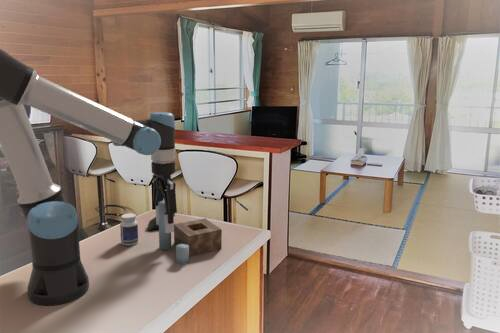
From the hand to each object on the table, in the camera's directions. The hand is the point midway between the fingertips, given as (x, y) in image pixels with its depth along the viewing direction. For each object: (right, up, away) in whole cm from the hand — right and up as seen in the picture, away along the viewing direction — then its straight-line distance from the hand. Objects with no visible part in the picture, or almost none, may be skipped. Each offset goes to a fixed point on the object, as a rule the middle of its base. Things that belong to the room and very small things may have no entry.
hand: (164, 227), depth 142 cm
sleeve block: (+10, -7, +4) cm, 13 cm away
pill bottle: (-13, -6, +5) cm, 15 cm away
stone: (-6, -3, +21) cm, 22 cm away
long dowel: (0, -7, +2) cm, 7 cm away
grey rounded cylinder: (+7, -9, -8) cm, 14 cm away
